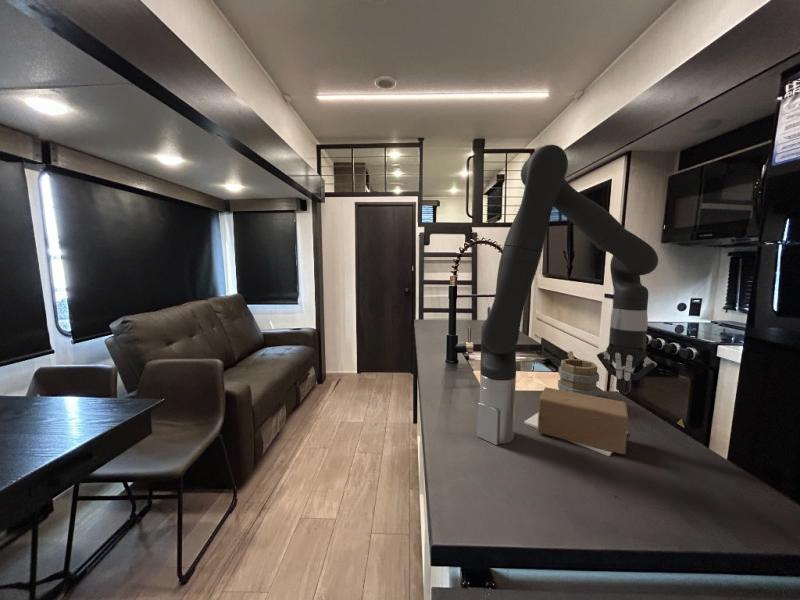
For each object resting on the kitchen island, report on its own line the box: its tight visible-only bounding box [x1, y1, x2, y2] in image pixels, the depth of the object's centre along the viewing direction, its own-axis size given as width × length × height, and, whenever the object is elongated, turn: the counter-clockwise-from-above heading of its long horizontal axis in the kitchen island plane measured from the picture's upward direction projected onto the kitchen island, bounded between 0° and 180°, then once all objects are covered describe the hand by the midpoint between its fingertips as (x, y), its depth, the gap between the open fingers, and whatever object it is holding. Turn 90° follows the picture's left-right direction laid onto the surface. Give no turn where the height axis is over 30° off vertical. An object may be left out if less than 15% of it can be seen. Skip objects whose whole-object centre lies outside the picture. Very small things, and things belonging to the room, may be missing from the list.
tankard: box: [557, 350, 600, 397], centre depth 112 cm, size 20×13×15 cm, turn 161°
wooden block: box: [537, 386, 629, 455], centre depth 87 cm, size 10×10×20 cm
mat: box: [523, 412, 629, 457], centre depth 92 cm, size 16×22×1 cm
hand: (623, 392), depth 83 cm, fingers closed
